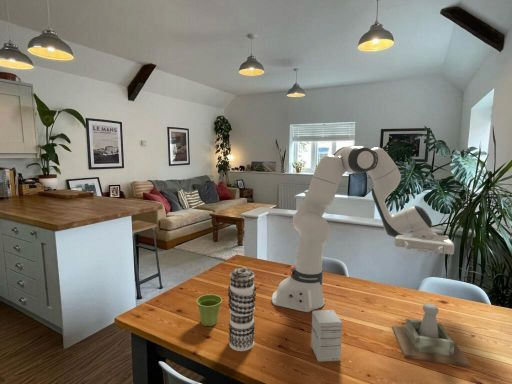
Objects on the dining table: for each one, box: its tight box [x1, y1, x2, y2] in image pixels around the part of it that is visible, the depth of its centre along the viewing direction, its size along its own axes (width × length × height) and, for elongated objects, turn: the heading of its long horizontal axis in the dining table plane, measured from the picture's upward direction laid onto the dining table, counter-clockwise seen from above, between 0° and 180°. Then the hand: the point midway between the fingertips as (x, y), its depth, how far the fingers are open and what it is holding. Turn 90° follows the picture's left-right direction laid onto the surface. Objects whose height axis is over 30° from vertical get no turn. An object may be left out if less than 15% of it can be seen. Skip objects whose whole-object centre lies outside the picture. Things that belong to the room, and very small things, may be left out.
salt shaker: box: [418, 302, 439, 338], centre depth 94 cm, size 6×6×13 cm
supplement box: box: [310, 309, 343, 362], centre depth 90 cm, size 7×7×13 cm
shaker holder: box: [391, 318, 472, 368], centre depth 95 cm, size 18×16×6 cm
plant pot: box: [195, 293, 223, 327], centre depth 107 cm, size 9×9×9 cm
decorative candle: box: [227, 267, 257, 352], centre depth 94 cm, size 9×9×25 cm
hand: (422, 249), depth 107 cm, fingers open, 8 cm apart
